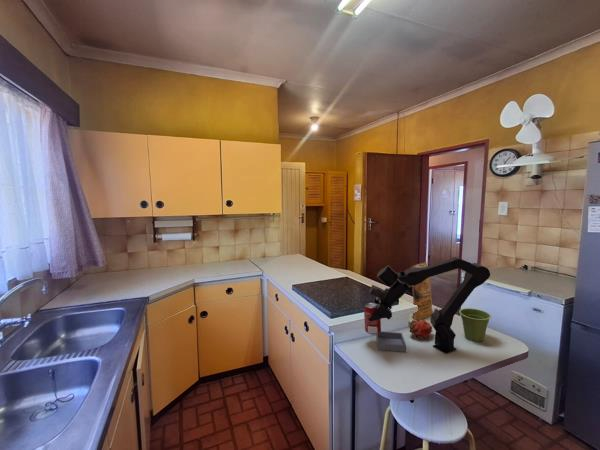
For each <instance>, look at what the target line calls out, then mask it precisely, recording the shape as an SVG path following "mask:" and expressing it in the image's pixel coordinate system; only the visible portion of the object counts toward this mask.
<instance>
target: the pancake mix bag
mask: <svg viewBox="0 0 600 450" xmlns="http://www.w3.org/2000/svg"><path fill="white" fill-rule="evenodd" d="M426 266H428V262H427V261H423V262H421V263H417V264H415V265H411V266H410V268H422V267H426ZM412 287H413V294H412V298H413V299H412V300H413V301H412V302H413V303H412V305H413V304H414V305H417V306H418V311H417V312H415V313H413V312H412V319H413V320H415V321H417V320H420V321H422V320H425V319H426V318H429V317H431V316H430V315H431V314H433V312H434V311H433V303H432V302H433V301H432V284H431V277H429V278H427V279H426V280H424V281H423V282H421V283H419V284H417V285H415V286H412Z"/></svg>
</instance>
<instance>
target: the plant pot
mask: <svg viewBox="0 0 600 450" xmlns="http://www.w3.org/2000/svg"><path fill="white" fill-rule="evenodd" d="M458 311H459V314H460V317H461V320H462V326H463V334H464V337H465V338H466V339H467V340H470V341H475V342H477V343H478V342H483V341H484V340H485V337H486V336H485V335H486V333H487V328H488V325H489V324H488V323H489V321H490V319H492V316H491V314H490V313H488V312H487V311H485V310H481V309H477V308H472V307H471V308H469V307H468V308H467V307H466V308H465V307H464V308H461V309H459V310H458Z"/></svg>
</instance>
